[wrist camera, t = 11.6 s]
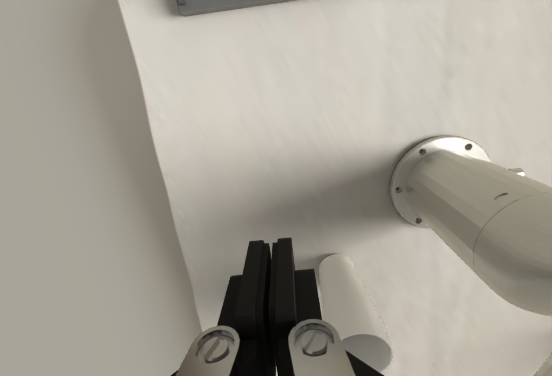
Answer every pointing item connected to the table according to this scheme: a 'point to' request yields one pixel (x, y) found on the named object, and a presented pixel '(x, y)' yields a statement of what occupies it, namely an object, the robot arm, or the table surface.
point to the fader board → (218, 5)
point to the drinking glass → (353, 312)
